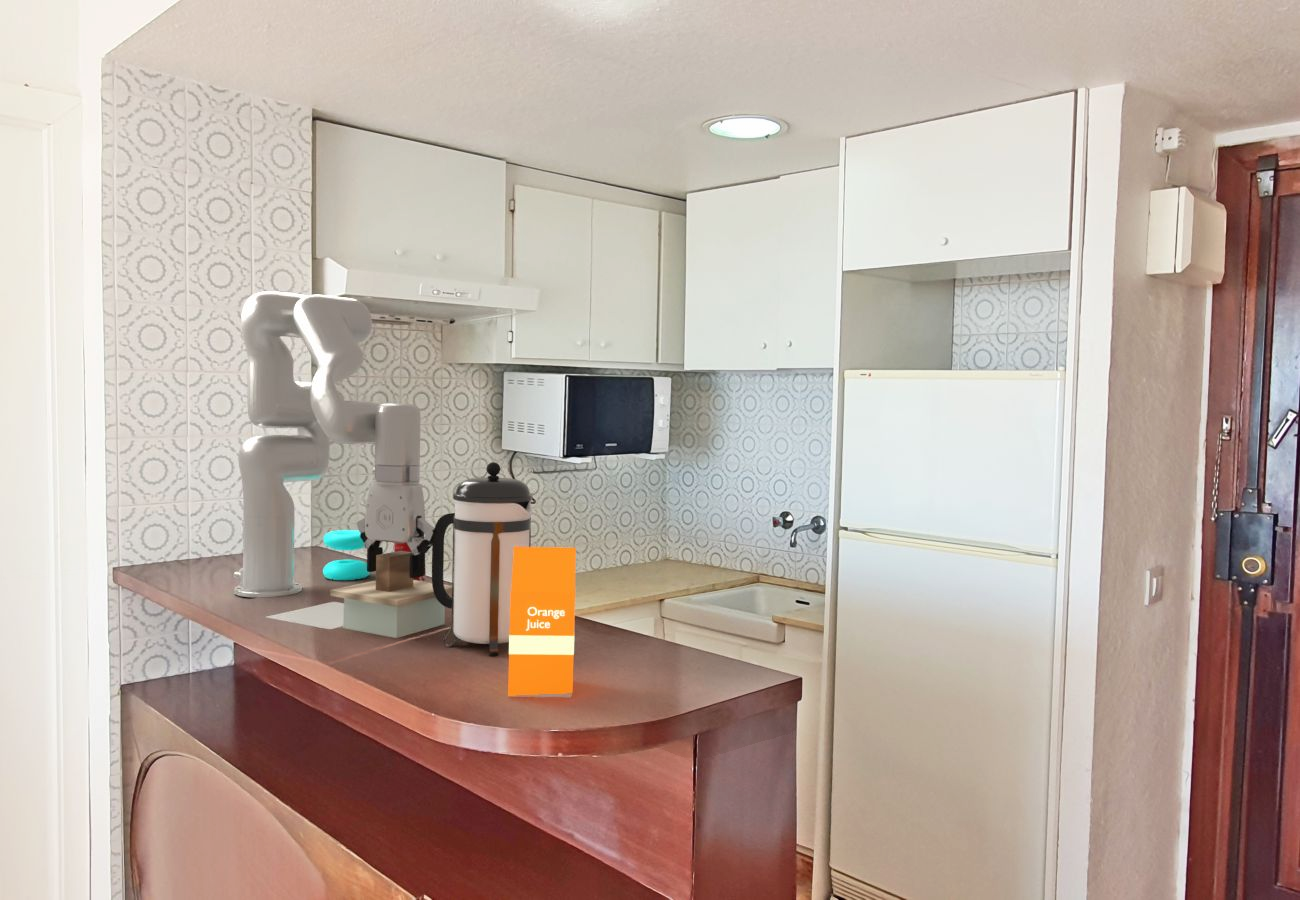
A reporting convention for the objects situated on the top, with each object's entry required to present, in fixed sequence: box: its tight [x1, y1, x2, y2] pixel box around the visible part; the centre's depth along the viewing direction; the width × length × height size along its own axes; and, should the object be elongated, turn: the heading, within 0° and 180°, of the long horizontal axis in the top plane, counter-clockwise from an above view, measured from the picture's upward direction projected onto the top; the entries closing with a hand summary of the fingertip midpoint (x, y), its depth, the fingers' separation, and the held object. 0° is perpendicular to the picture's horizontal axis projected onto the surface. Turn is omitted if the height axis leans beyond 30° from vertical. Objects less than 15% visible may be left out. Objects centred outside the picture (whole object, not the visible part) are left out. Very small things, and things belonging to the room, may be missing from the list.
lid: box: [329, 551, 454, 607], centre depth 165 cm, size 15×15×7 cm
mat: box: [265, 601, 344, 630], centre depth 172 cm, size 16×16×1 cm
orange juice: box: [507, 546, 577, 697], centre depth 132 cm, size 8×9×20 cm
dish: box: [342, 597, 446, 639], centre depth 165 cm, size 12×12×6 cm
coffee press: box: [431, 461, 534, 657], centre depth 155 cm, size 17×16×30 cm
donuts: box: [322, 529, 371, 581], centre depth 210 cm, size 10×10×10 cm
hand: (395, 573), depth 165 cm, fingers open, 9 cm apart
